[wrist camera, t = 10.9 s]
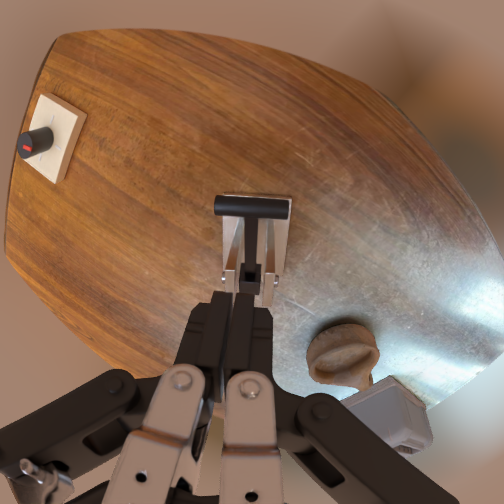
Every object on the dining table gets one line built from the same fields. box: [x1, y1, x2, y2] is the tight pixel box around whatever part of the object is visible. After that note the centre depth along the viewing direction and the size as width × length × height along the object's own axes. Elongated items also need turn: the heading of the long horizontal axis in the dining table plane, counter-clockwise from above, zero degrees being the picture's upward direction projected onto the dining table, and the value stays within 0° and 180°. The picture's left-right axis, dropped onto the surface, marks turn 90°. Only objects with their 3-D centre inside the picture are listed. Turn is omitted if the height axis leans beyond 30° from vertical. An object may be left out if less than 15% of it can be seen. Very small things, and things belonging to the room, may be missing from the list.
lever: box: [214, 195, 289, 295], centre depth 25 cm, size 13×6×2 cm, turn 178°
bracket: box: [222, 192, 292, 307], centre depth 34 cm, size 12×9×13 cm
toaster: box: [340, 376, 433, 458], centre depth 59 cm, size 30×36×18 cm
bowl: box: [306, 324, 380, 391], centre depth 46 cm, size 18×14×10 cm
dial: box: [17, 127, 54, 159], centre depth 27 cm, size 4×4×5 cm
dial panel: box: [22, 93, 87, 184], centre depth 31 cm, size 12×10×3 cm
